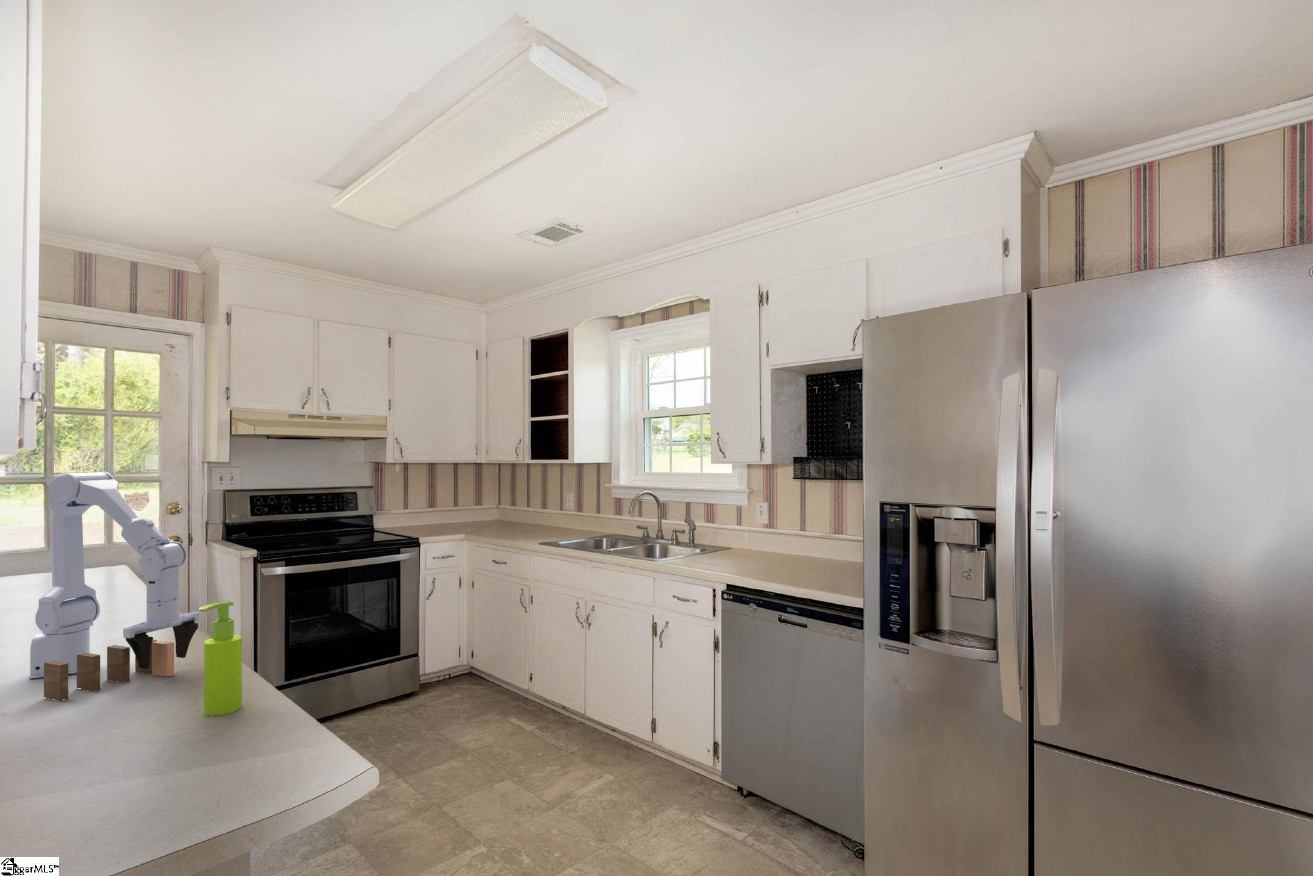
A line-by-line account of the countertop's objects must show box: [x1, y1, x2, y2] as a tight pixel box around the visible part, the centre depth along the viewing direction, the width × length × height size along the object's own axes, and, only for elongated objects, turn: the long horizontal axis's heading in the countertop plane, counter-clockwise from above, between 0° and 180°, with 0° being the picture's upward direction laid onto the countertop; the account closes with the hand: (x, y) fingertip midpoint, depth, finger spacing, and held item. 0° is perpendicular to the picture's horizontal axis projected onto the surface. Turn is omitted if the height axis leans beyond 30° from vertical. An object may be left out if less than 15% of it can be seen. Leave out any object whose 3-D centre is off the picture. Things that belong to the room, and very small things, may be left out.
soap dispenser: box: [197, 600, 243, 717], centre depth 123 cm, size 6×7×20 cm
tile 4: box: [76, 653, 101, 692], centre depth 135 cm, size 1×5×7 cm, turn 69°
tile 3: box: [106, 644, 131, 684], centre depth 140 cm, size 1×5×7 cm, turn 70°
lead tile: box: [151, 640, 175, 678], centre depth 143 cm, size 1×5×7 cm, turn 69°
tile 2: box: [134, 639, 158, 675], centre depth 145 cm, size 1×5×7 cm, turn 69°
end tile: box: [43, 661, 69, 702], centre depth 130 cm, size 1×5×7 cm, turn 69°
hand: (163, 662), depth 143 cm, fingers open, 7 cm apart
